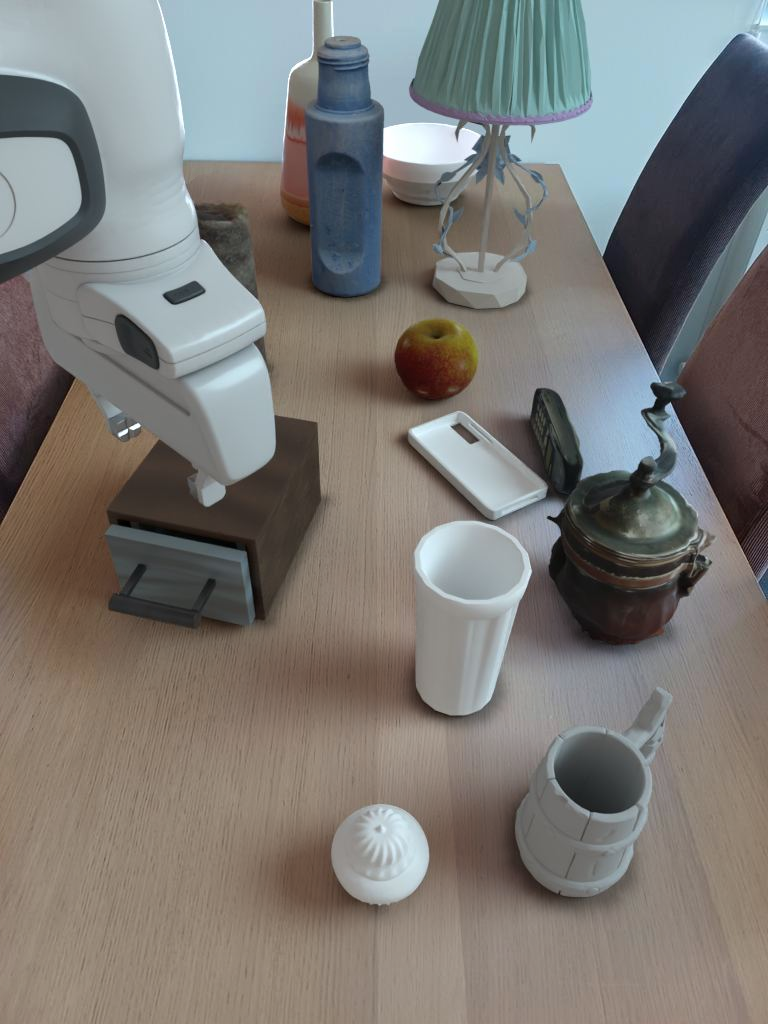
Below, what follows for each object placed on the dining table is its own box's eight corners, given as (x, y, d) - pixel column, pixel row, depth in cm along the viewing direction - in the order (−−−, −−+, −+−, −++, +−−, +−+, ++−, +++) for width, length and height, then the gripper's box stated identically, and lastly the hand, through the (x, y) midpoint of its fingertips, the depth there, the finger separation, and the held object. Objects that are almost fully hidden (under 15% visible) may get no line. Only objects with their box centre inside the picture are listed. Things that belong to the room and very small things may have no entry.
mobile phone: (530, 384, 86) (567, 471, 75) (558, 383, 87) (598, 470, 75) (524, 422, 90) (558, 511, 78) (551, 421, 90) (588, 509, 79)
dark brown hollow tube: (190, 381, 94) (161, 212, 80) (227, 352, 98) (206, 188, 85) (244, 400, 91) (224, 229, 77) (280, 369, 96) (266, 202, 82)
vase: (333, 191, 135) (328, -16, 115) (391, 219, 128) (397, 2, 108) (263, 214, 128) (245, -3, 108) (321, 245, 121) (313, 17, 100)
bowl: (506, 194, 136) (513, 143, 131) (431, 228, 126) (434, 174, 120) (421, 163, 146) (423, 115, 140) (344, 192, 135) (343, 141, 130)
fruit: (379, 396, 92) (381, 335, 87) (411, 358, 98) (415, 299, 93) (457, 419, 89) (464, 357, 84) (485, 378, 95) (493, 318, 90)
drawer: (228, 672, 63) (216, 608, 58) (96, 642, 65) (72, 576, 60) (305, 511, 77) (301, 447, 71) (194, 490, 79) (182, 426, 73)
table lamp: (542, 252, 120) (596, -76, 93) (570, 326, 105) (646, -43, 77) (397, 251, 120) (409, -81, 92) (404, 326, 104) (421, -48, 76)
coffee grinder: (673, 546, 76) (734, 385, 63) (683, 673, 65) (758, 510, 53) (537, 524, 77) (570, 364, 65) (525, 645, 67) (562, 481, 54)
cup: (502, 737, 60) (529, 615, 51) (395, 719, 61) (402, 596, 51) (508, 651, 66) (534, 527, 56) (411, 636, 67) (420, 511, 57)
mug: (488, 842, 54) (511, 748, 46) (592, 737, 60) (629, 638, 52) (580, 930, 50) (623, 844, 42) (681, 808, 57) (736, 713, 48)
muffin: (397, 944, 50) (401, 899, 45) (314, 894, 52) (309, 845, 47) (442, 857, 54) (450, 808, 49) (362, 814, 56) (363, 762, 51)
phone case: (404, 439, 86) (490, 522, 77) (405, 429, 86) (491, 512, 76) (460, 418, 89) (548, 496, 80) (461, 408, 89) (551, 486, 79)
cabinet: (265, 620, 68) (255, 540, 62) (129, 590, 70) (105, 509, 64) (321, 500, 79) (317, 422, 73) (202, 477, 81) (188, 399, 75)
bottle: (386, 269, 115) (392, 31, 95) (373, 302, 108) (377, 53, 88) (321, 262, 116) (313, 25, 96) (304, 295, 109) (292, 46, 89)
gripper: (-19, 234, 49) (43, 419, 58) (187, 367, 39) (221, 565, 48) (75, 205, 52) (119, 384, 61) (286, 320, 42) (300, 513, 51)
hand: (165, 464), depth 55 cm, fingers open, 8 cm apart
